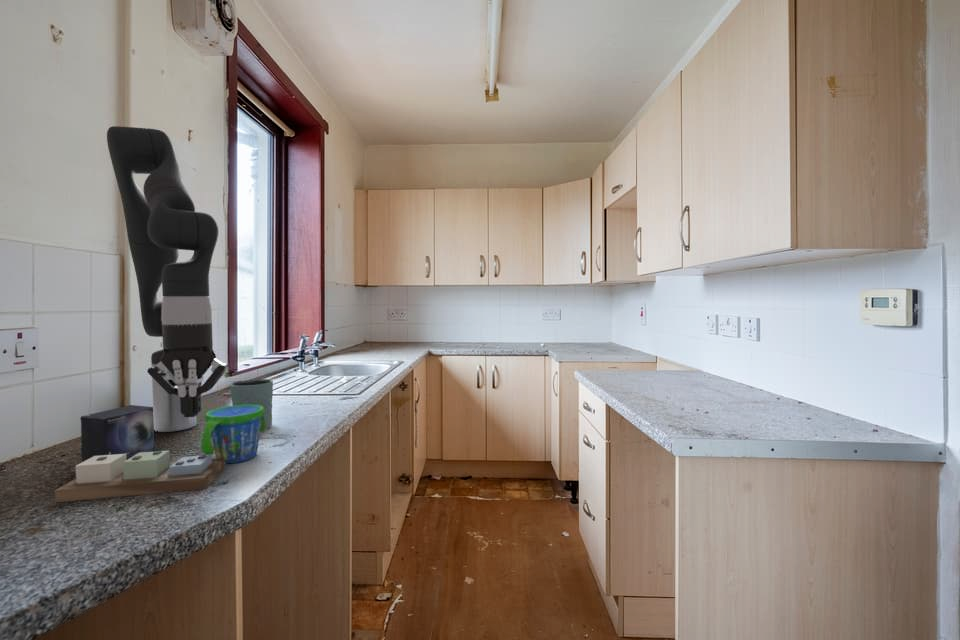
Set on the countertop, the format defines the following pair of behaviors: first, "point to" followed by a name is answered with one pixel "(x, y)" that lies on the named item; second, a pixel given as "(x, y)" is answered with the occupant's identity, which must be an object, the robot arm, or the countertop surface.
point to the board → (139, 485)
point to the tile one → (100, 468)
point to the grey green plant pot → (254, 395)
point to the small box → (117, 432)
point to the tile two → (146, 465)
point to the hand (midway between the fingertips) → (191, 416)
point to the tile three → (190, 465)
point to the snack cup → (233, 432)
